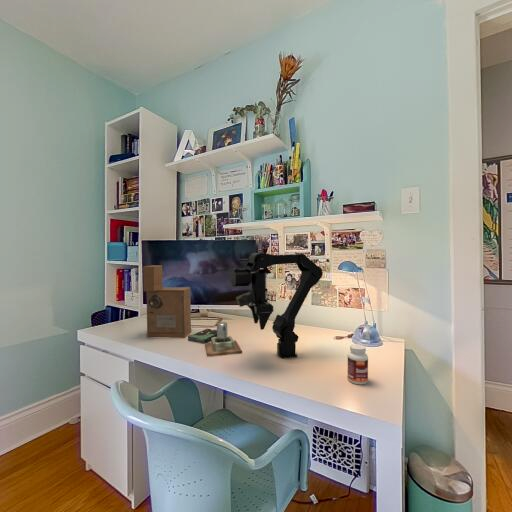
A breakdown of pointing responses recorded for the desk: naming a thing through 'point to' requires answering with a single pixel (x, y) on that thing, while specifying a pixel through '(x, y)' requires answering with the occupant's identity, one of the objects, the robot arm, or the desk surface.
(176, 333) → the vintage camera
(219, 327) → the peg
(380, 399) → the desk surface
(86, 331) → the desk surface
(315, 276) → the robot arm
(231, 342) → the dock board
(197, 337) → the disk drive
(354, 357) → the pill bottle
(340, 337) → the desk surface
